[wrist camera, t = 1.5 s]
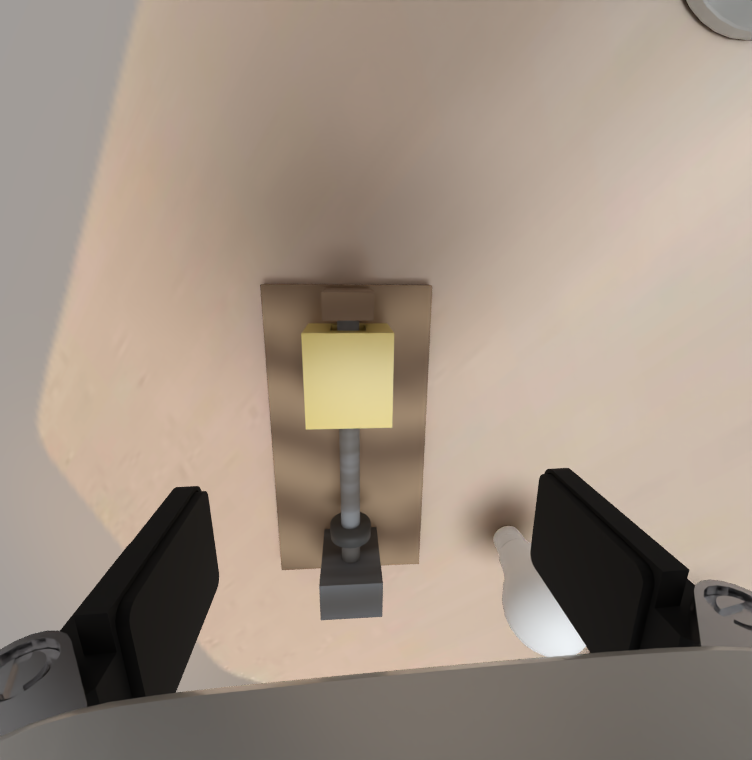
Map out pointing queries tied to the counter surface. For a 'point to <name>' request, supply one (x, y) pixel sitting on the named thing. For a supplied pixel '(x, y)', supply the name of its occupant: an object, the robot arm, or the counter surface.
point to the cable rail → (348, 445)
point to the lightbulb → (532, 600)
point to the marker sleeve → (348, 376)
